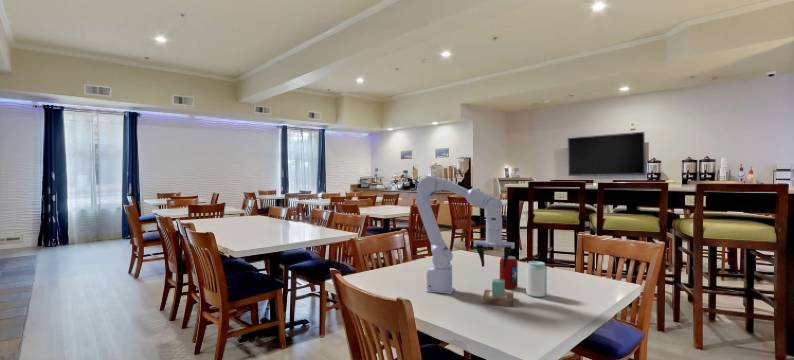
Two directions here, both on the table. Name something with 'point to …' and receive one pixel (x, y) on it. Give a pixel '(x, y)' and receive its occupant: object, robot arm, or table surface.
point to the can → (536, 279)
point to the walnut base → (498, 298)
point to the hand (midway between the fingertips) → (493, 266)
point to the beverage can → (509, 272)
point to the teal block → (498, 287)
